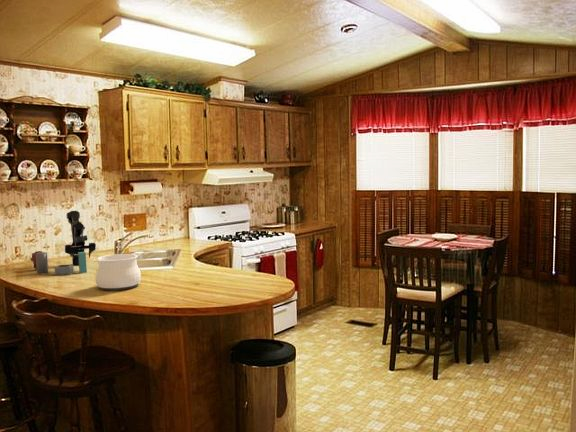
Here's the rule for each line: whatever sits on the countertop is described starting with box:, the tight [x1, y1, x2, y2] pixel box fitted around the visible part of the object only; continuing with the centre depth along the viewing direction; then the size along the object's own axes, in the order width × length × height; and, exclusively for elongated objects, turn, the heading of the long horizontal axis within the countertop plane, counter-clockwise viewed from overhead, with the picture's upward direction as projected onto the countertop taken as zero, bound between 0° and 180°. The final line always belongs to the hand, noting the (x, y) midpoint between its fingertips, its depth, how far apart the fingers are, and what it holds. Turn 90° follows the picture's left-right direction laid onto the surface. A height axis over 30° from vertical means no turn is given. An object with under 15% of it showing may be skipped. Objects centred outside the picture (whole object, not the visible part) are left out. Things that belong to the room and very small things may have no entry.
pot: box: [92, 252, 142, 292], centre depth 296 cm, size 28×24×17 cm
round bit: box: [36, 251, 49, 275], centre depth 341 cm, size 7×7×13 cm
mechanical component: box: [30, 250, 43, 271], centre depth 353 cm, size 12×10×10 cm
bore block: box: [54, 263, 75, 276], centre depth 338 cm, size 9×9×5 cm
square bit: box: [78, 251, 88, 274], centre depth 341 cm, size 4×4×13 cm
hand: (81, 257), depth 342 cm, fingers open, 9 cm apart
